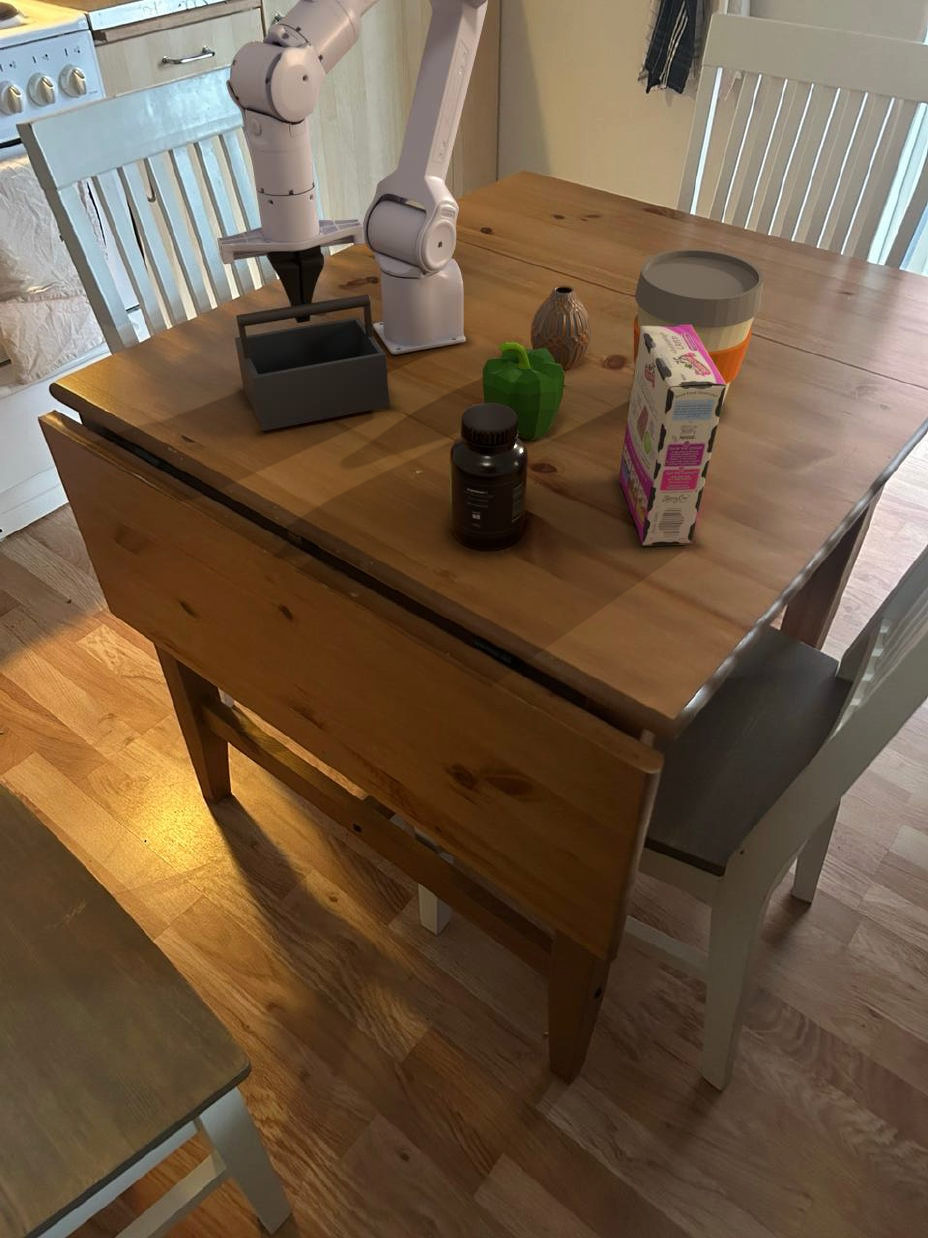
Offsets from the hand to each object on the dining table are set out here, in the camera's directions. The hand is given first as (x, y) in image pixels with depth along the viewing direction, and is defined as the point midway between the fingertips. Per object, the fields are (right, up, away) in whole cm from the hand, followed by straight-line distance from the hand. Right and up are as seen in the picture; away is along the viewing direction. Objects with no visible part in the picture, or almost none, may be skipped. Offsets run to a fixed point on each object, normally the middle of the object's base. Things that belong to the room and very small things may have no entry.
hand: (301, 318), depth 102 cm
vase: (+29, -2, +11) cm, 31 cm away
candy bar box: (+36, -22, -11) cm, 43 cm away
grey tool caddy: (+1, -8, +4) cm, 9 cm away
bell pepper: (+23, -12, 0) cm, 26 cm away
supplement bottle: (+20, -24, -13) cm, 33 cm away
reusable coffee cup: (+41, -9, +3) cm, 42 cm away
